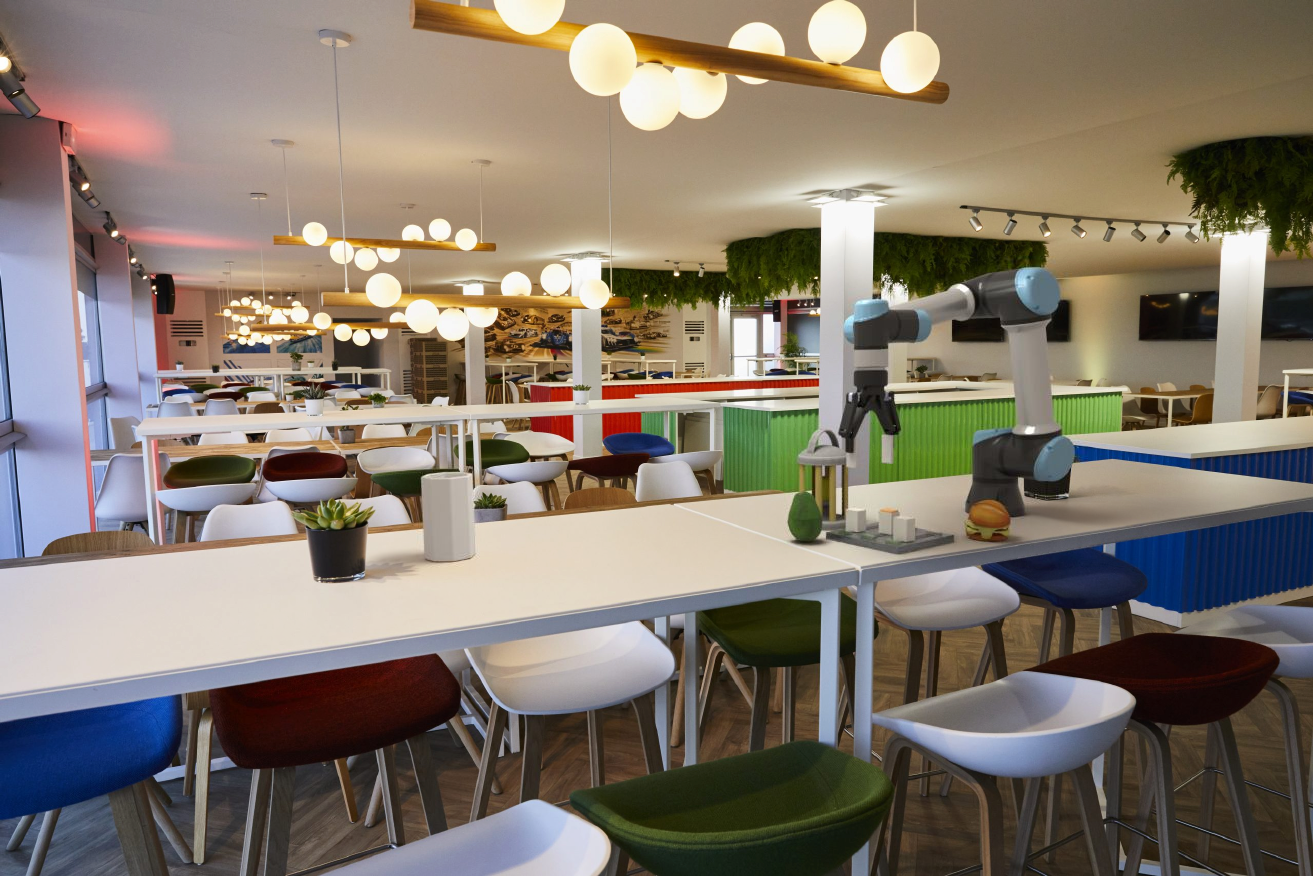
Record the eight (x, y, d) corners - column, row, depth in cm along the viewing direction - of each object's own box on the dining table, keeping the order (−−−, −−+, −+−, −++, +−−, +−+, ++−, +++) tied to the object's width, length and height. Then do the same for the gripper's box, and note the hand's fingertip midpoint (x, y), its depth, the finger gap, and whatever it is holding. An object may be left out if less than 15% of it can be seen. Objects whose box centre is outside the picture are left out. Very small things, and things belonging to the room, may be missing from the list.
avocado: (795, 537, 199) (795, 487, 198) (826, 540, 195) (826, 489, 194) (782, 543, 192) (782, 492, 191) (815, 546, 188) (814, 494, 187)
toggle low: (854, 528, 199) (854, 507, 198) (865, 530, 196) (866, 509, 196) (845, 529, 197) (845, 509, 197) (857, 532, 194) (857, 511, 194)
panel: (881, 527, 207) (881, 519, 207) (953, 541, 190) (954, 532, 190) (825, 538, 196) (825, 529, 196) (898, 554, 179) (898, 544, 179)
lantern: (827, 533, 203) (827, 431, 200) (784, 525, 214) (783, 429, 211) (863, 525, 212) (863, 428, 209) (819, 517, 222) (819, 425, 220)
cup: (422, 554, 188) (418, 473, 186) (472, 549, 192) (468, 470, 190) (427, 564, 178) (423, 479, 176) (479, 559, 182) (475, 476, 180)
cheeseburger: (1001, 532, 199) (1006, 494, 196) (1016, 552, 189) (1021, 513, 185) (958, 531, 200) (962, 493, 196) (970, 552, 190) (974, 512, 186)
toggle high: (901, 537, 188) (901, 515, 187) (914, 540, 185) (915, 518, 184) (893, 539, 186) (893, 517, 185) (906, 542, 183) (906, 519, 182)
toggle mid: (887, 530, 195) (887, 508, 195) (899, 533, 192) (899, 510, 192) (878, 532, 194) (878, 509, 193) (891, 534, 191) (891, 511, 190)
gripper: (891, 368, 195) (890, 459, 197) (821, 370, 182) (821, 468, 183) (917, 368, 189) (916, 462, 191) (847, 369, 175) (847, 471, 177)
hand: (870, 465), depth 187 cm, fingers open, 11 cm apart
